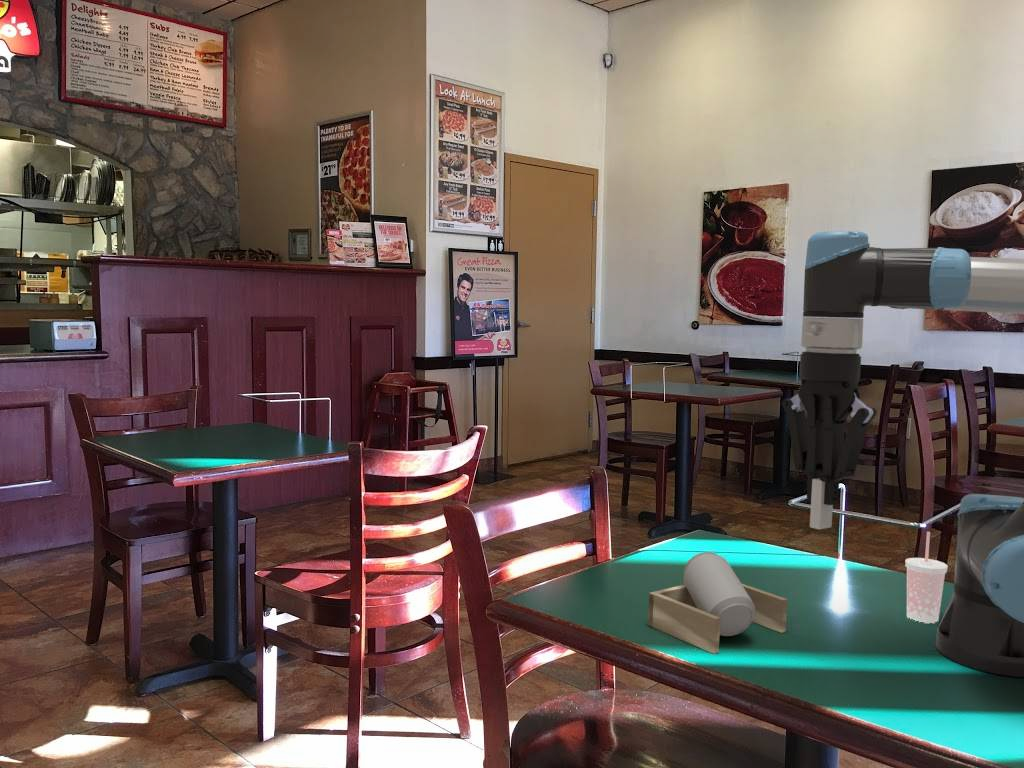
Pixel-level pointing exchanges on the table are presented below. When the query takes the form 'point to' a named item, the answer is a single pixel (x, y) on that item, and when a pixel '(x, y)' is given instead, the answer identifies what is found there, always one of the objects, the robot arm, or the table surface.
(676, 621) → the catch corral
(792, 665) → the table surface
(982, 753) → the table surface
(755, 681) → the table surface
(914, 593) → the beverage cup
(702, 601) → the can
